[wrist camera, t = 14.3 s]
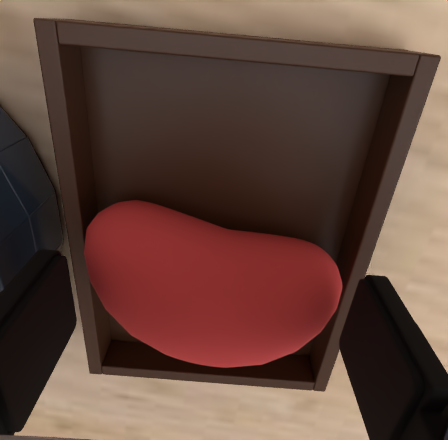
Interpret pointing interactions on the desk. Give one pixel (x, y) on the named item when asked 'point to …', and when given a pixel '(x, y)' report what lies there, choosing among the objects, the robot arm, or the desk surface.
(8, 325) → the robot arm
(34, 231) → the bowl
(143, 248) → the red kidney bean
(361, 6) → the desk surface
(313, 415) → the desk surface
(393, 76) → the tray
